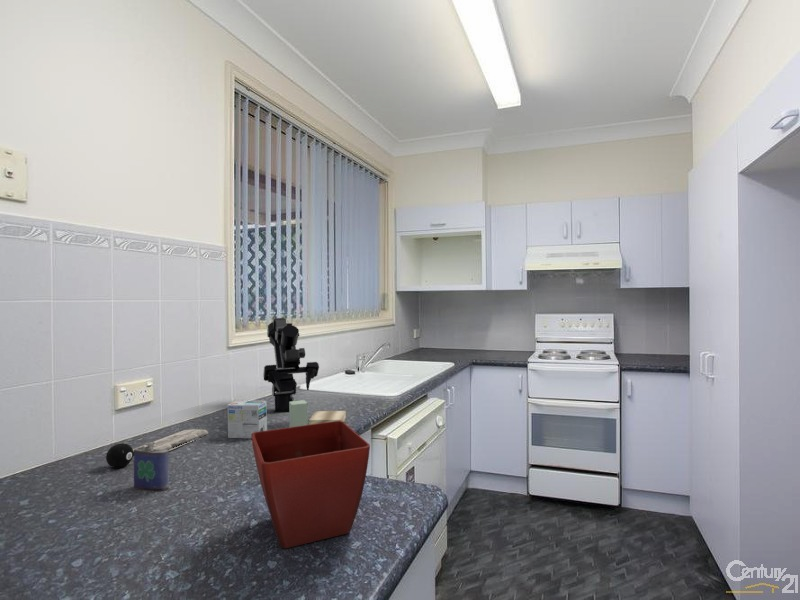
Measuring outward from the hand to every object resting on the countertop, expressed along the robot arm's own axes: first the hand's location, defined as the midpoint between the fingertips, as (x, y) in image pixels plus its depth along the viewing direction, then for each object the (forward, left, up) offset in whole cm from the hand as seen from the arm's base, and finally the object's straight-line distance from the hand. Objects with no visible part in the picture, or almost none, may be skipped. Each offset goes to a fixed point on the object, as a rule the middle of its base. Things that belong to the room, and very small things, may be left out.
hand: (294, 390), depth 152 cm
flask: (-22, -48, -13) cm, 55 cm away
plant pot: (+19, -67, -13) cm, 71 cm away
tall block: (+3, -6, -13) cm, 14 cm away
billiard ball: (-38, -34, -13) cm, 53 cm away
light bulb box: (-13, -8, -13) cm, 20 cm away
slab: (+11, +4, -13) cm, 17 cm away
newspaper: (-34, -15, -13) cm, 40 cm away
